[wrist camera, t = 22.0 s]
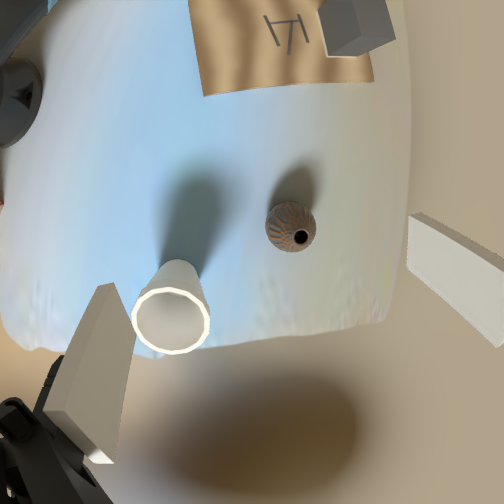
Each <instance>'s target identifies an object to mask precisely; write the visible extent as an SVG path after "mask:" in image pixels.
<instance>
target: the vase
mask: <svg viewBox="0 0 504 504" xmlns="http://www.w3.org/2000/svg"><path fill="white" fill-rule="evenodd" d="M265 229H266V233H267V236H268V238H269V240H270V241H271V243H272V244H273V245H274V246H275V247H277V248H278V249H280V250H282V251H286V252H298V251H301V250H303V249H305V248H307V247H308V246H309V245H310V244H311V243H312V241H313V239H314V237H315V234H316V223H315V219H314V217H313V215H312V213H311V212H310V211H309V210H308V209H307V208H306V207H305V206H303V205H301V204H299V203H296V202H283V203H280V204H278V205H276V206H275V207H274V208H272V210H271V211H270V212H269V214H268V216H267V218H266V223H265Z"/></svg>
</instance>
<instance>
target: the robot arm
mask: <svg viewBox="0 0 504 504" xmlns="http://www.w3.org/2000/svg"><path fill="white" fill-rule="evenodd" d="M58 1H59V0H0V148H5V147H9V146H11V145H13V144H15V143H16V142H17V141H19V140H20V139H21V138H22V137H23V136H24V135H25V134H26V132H27V131H28V130H29V128H30V127H31V125H32V123H33V121H34V119H35V117H36V115H37V112H38V109H39V106H40V102H41V95H42V84H41V78H40V75H39V72H38V70H37V69H36V67H35V66H34V65H33V64H32V63H30V62H28V61H26V60H23V59H21V58H9V57H10V56H11V55H12V53H13V52H14V51H15V49H16V48H17V47H18V46H19V44H20V43H21V42H22V41H23V39H24V38H25V37H26V36H27V35H28V33H29V32H30V31H31V30H32V29H33V28H34V26H35V25H36V24H37V23H38V22H39V21H40V20H41V19H42V17H43V16H46V15H47V14H48V13H49V12H50V10H51V8H52V7H53V6H54V5H55V4H56V3H57V2H58ZM407 269H408V270H410V271H411V272H412V273H413V274H414V275H416V276H417V277H418V278H419V279H421V280H422V281H423V282H424V283H425V284H426V285H428V286H429V287H430V288H431V289H432V290H433V291H435V292H436V293H437V294H438V295H439V296H440V297H442V298H443V299H444V300H445V301H446V302H447V303H448V304H450V305H451V306H452V307H453V308H454V309H455V310H456V311H458V312H459V313H460V314H461V315H462V316H463V317H464V318H465V319H466V320H467V321H468V322H470V323H471V324H472V325H473V326H474V327H475V328H476V329H477V330H478V331H479V332H480V333H481V334H482V335H483V336H485V337H486V338H487V339H488V340H489V341H490V342H491V343H492V344H493V345H494V346H495V347H496V348H497V347H499V346H500V345H502V344H503V343H504V259H503V258H501V257H500V256H498V255H497V254H495V253H493V252H491V251H490V250H488V249H486V248H484V247H483V246H481V245H480V244H478V243H476V242H474V241H473V240H471V239H469V238H468V237H466V236H464V235H462V234H460V233H459V232H457V231H455V230H453V229H451V228H450V227H448V226H446V225H444V224H442V223H440V222H438V221H437V220H435V219H433V218H431V217H429V216H427V215H425V214H423V213H416V214H412V215H409V229H408V252H407ZM136 335H137V334H136V332H135V330H134V328H133V326H132V324H131V321H130V319H129V317H128V315H127V313H126V310H125V308H124V306H123V303H122V301H121V299H120V296H119V294H118V292H117V289H116V287H115V284H114V282H113V283H109V284H105V285H100V286H98V287H97V289H96V291H95V293H94V295H93V297H92V299H91V300H90V302H89V304H88V306H87V308H86V310H85V312H84V314H83V316H82V319H81V321H80V323H79V325H78V327H77V329H76V331H75V333H74V335H73V338H72V340H71V342H70V344H69V346H68V349H67V351H66V353H65V355H61V356H59V358H58V359H57V360H56V361H55V362H54V364H53V365H52V366H51V368H50V371H49V373H48V375H47V378H46V380H45V382H44V387H42V390H41V392H40V394H39V397H38V400H37V402H36V405H35V407H34V410H33V413H32V412H31V411H30V409H29V408H28V407H27V406H26V405H25V404H24V402H23V401H22V400H21V399H19V398H17V397H12V398H8V399H6V400H4V401H3V402H2V403H1V404H0V433H1V434H2V435H3V436H4V438H0V504H113V502H112V501H111V500H110V498H109V497H108V496H107V494H106V493H105V492H104V490H103V489H102V488H101V486H100V485H99V483H98V482H97V481H96V479H95V478H94V476H93V475H92V473H91V472H90V470H89V469H88V468H87V467H86V466H85V465H84V464H83V459H84V454H85V455H86V456H87V457H88V458H89V459H90V460H91V461H92V462H94V463H109V464H111V463H112V464H113V463H115V456H116V448H117V441H118V433H119V426H120V420H121V413H122V407H123V401H124V395H125V390H126V384H127V378H128V373H129V368H130V364H131V359H132V354H133V349H134V344H135V340H136ZM7 488H8V489H9V490H11V497H9V496H8V494H7Z"/></svg>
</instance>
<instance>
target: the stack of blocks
mask: <svg viewBox="0 0 504 504" xmlns="http://www.w3.org/2000/svg"><path fill="white" fill-rule="evenodd" d="M3 206H4V203H3V202H2V201H1V200H0V213H1V210H2V208H3Z"/></svg>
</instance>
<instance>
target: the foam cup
mask: <svg viewBox="0 0 504 504" xmlns="http://www.w3.org/2000/svg"><path fill="white" fill-rule="evenodd" d="M132 324H133V328H134V330H135V332H136V334H137V335H138V337H139V338H140V340H141V341H142V342H143V343H145V344H146V345H147V346H149V347H150V348H152V349H153V350H155V351H158V352H162V353H167V354H171V355H173V354H181V353H188V352H190V351H191V350H193V349H195V348H196V347H198V346H200V345H201V344H202V343H203V341H204V339H205V338H206V336H207V335H208V333H209V324H210V310H209V306H208V304H207V302H206V300H205V297H204V294H203V290H202V287H201V283H200V280H199V277H198V274H197V272H196V270H195V268H194V266H192V265H191V264H190V263H189V262H188V261H184V260H181V259H174V260H169V261H168V262H166V263H165V264H163V265H162V266H161V267H160V269H159V270H158V271H157V273H156V274H155V275H154V277H153V278H152V279H151V281H150V282H149V283H148V285H147V286H146V287H145V288H144V289H142V290H141V292H140V294H139V296H138V298H137V300H136V303H135V305H134V308H133V310H132Z"/></svg>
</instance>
